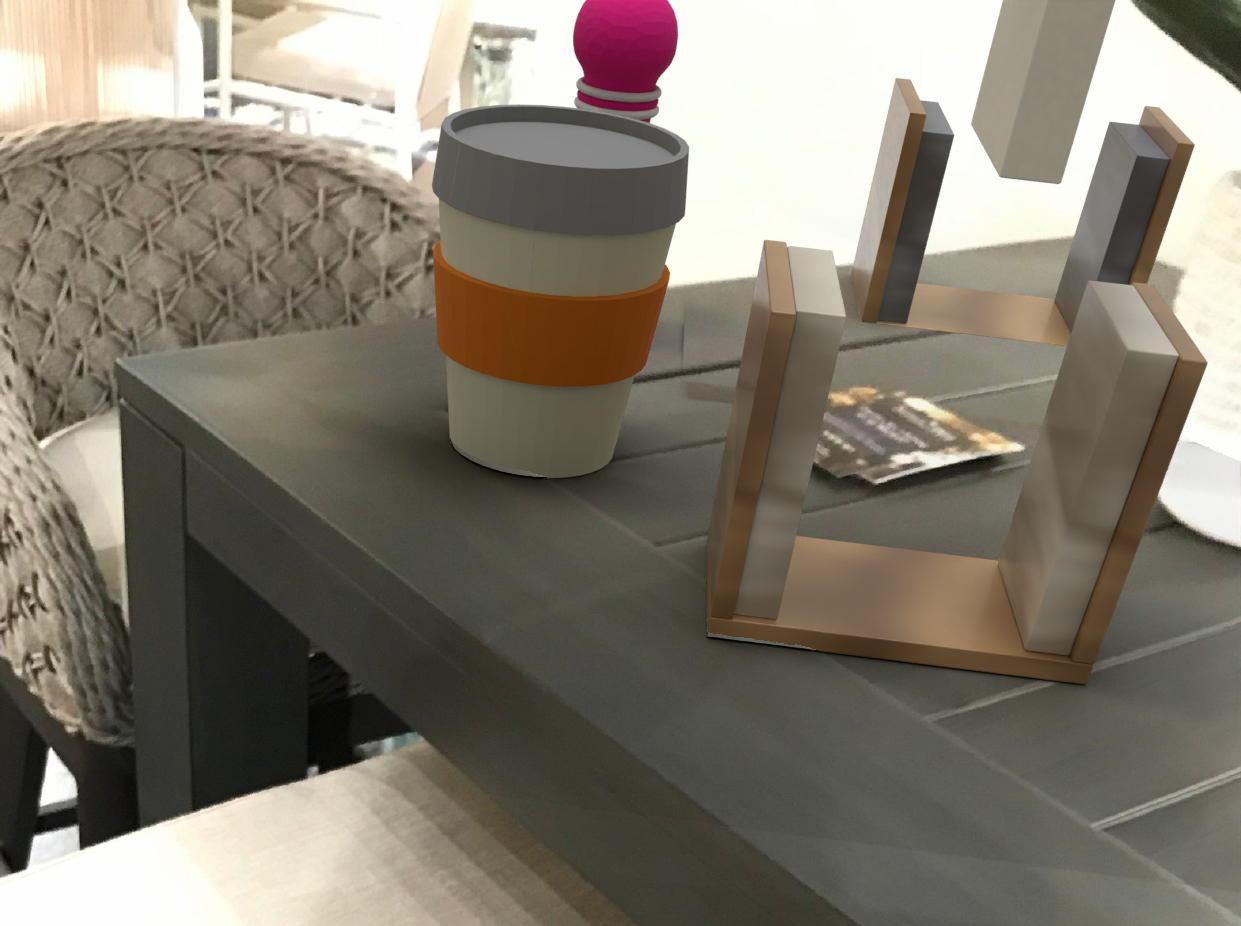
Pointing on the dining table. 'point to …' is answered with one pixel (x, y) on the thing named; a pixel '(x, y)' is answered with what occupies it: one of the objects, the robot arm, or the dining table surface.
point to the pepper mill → (623, 55)
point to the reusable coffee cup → (550, 276)
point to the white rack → (932, 582)
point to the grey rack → (1101, 248)
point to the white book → (1038, 84)
